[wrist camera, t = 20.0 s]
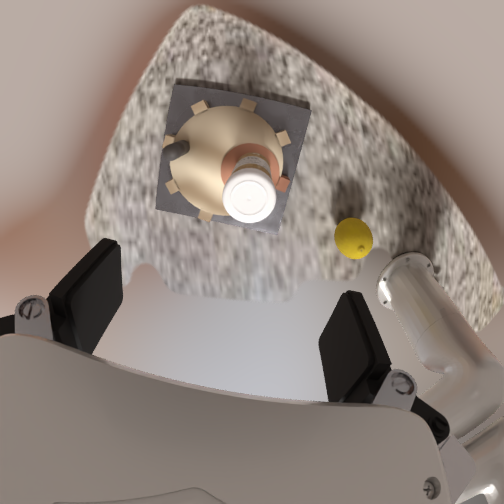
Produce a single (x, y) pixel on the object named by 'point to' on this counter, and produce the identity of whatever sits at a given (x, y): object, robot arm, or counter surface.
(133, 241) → the counter surface
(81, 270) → the robot arm
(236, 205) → the sprinkles bottle
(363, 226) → the lemon
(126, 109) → the counter surface
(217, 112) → the sprocket dial
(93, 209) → the counter surface
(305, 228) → the counter surface
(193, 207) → the dial base
